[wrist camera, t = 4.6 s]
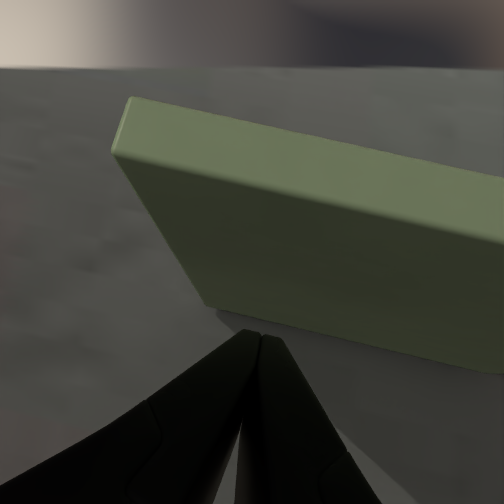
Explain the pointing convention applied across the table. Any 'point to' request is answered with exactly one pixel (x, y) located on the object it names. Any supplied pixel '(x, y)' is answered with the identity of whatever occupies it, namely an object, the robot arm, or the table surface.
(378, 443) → the table surface
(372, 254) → the door
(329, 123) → the table surface
